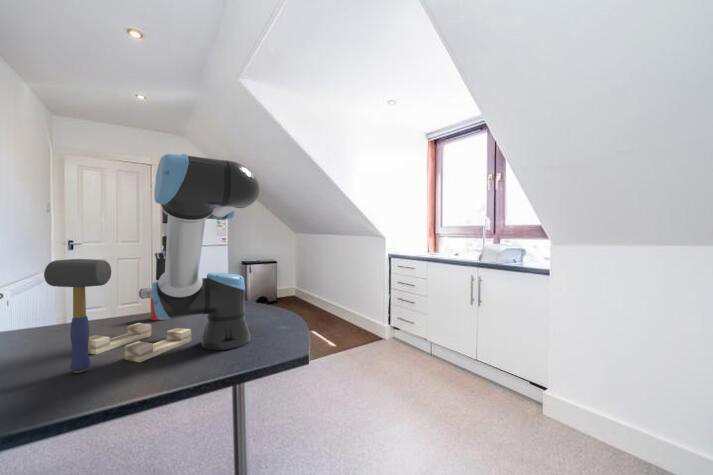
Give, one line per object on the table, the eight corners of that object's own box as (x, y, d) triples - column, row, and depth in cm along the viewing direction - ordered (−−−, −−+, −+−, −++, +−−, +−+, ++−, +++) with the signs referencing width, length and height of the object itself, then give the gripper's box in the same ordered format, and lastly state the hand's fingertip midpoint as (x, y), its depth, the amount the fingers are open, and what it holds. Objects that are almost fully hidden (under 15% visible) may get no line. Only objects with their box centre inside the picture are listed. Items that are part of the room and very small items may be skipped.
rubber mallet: (42, 379, 79) (40, 260, 78) (65, 366, 86) (64, 257, 85) (96, 376, 80) (95, 260, 80) (114, 364, 88) (113, 257, 87)
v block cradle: (191, 341, 106) (191, 329, 106) (140, 362, 89) (140, 348, 89) (138, 333, 113) (138, 322, 113) (82, 351, 96) (82, 339, 96)
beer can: (169, 319, 132) (169, 291, 131) (150, 322, 128) (150, 292, 128) (168, 315, 137) (168, 288, 137) (150, 318, 133) (150, 290, 133)
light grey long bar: (147, 286, 120) (207, 279, 117) (150, 303, 120) (210, 296, 117) (136, 289, 115) (199, 281, 111) (139, 306, 115) (201, 300, 111)
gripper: (187, 235, 125) (187, 292, 126) (142, 235, 108) (142, 302, 108) (201, 235, 123) (202, 293, 123) (158, 235, 105) (159, 303, 106)
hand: (174, 297), depth 116 cm, fingers closed on light grey long bar, 5 cm apart
